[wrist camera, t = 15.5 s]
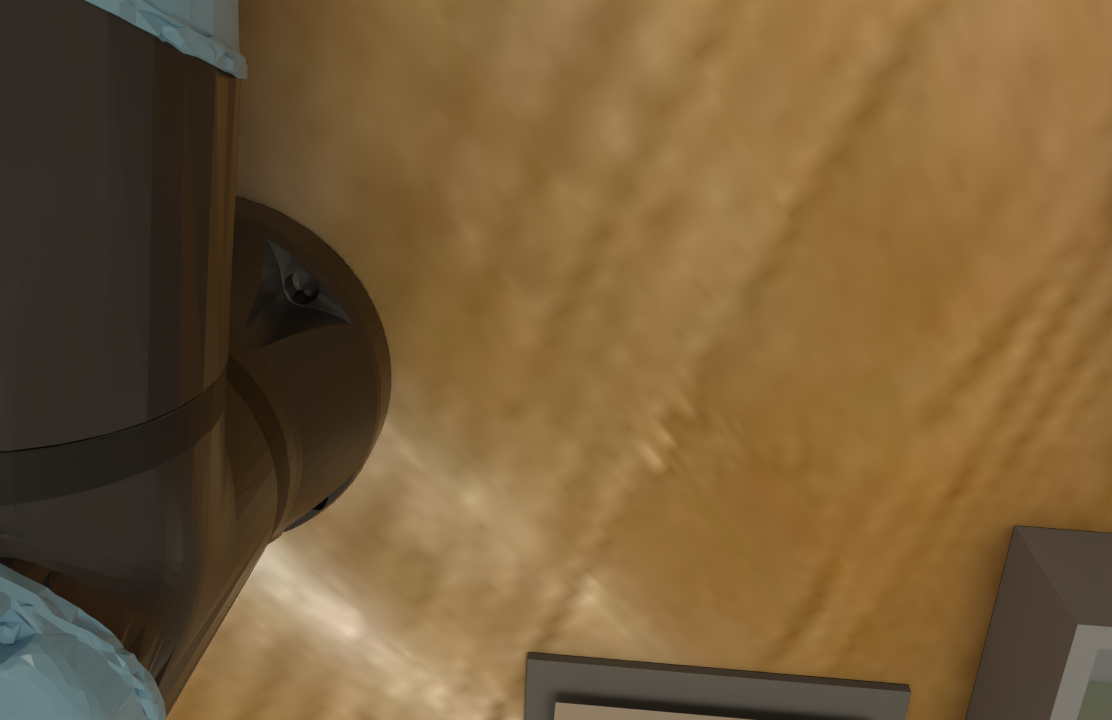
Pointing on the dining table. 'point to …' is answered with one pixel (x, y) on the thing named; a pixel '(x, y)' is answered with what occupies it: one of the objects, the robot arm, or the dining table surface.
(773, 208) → the dining table surface
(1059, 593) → the box
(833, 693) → the mat
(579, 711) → the lid
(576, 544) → the dining table surface
